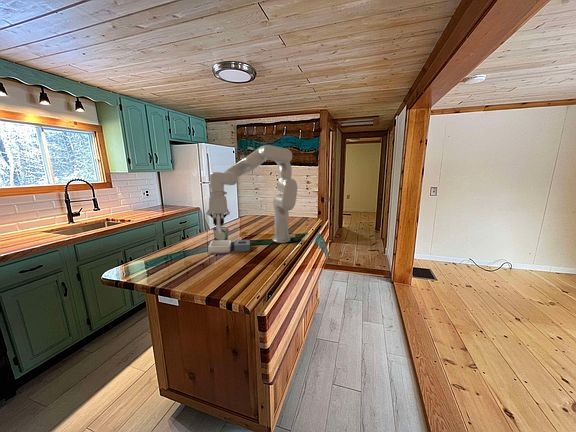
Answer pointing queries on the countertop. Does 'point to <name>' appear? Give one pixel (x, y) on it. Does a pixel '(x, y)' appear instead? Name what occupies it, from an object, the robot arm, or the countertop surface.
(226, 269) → the countertop surface
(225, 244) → the parts tray
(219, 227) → the steel pin
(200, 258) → the countertop surface
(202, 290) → the countertop surface
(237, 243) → the block
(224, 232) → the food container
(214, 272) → the countertop surface
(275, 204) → the robot arm
